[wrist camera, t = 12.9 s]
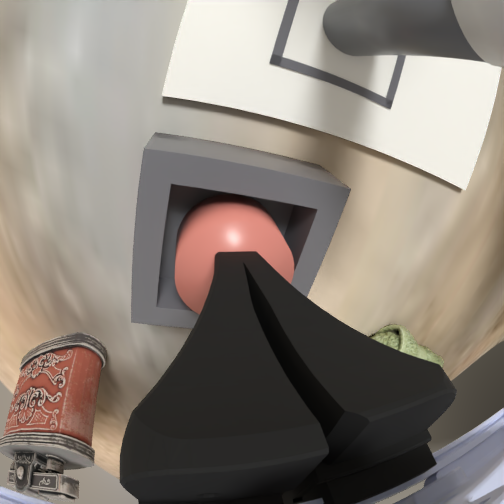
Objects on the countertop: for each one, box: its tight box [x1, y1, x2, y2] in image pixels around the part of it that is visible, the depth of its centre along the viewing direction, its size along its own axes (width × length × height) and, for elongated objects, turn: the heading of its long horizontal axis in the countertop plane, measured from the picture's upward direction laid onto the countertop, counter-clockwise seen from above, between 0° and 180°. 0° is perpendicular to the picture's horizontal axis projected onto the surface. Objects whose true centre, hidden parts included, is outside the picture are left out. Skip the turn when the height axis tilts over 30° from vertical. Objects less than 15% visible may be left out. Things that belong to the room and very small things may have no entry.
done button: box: [175, 194, 294, 314], centre depth 11 cm, size 4×4×2 cm
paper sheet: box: [162, 0, 501, 190], centre depth 9 cm, size 17×12×1 cm
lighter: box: [0, 333, 107, 502], centre depth 12 cm, size 8×3×10 cm, turn 112°
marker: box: [323, 0, 504, 68], centre depth 5 cm, size 3×3×9 cm
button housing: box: [131, 133, 351, 328], centre depth 12 cm, size 7×7×3 cm
